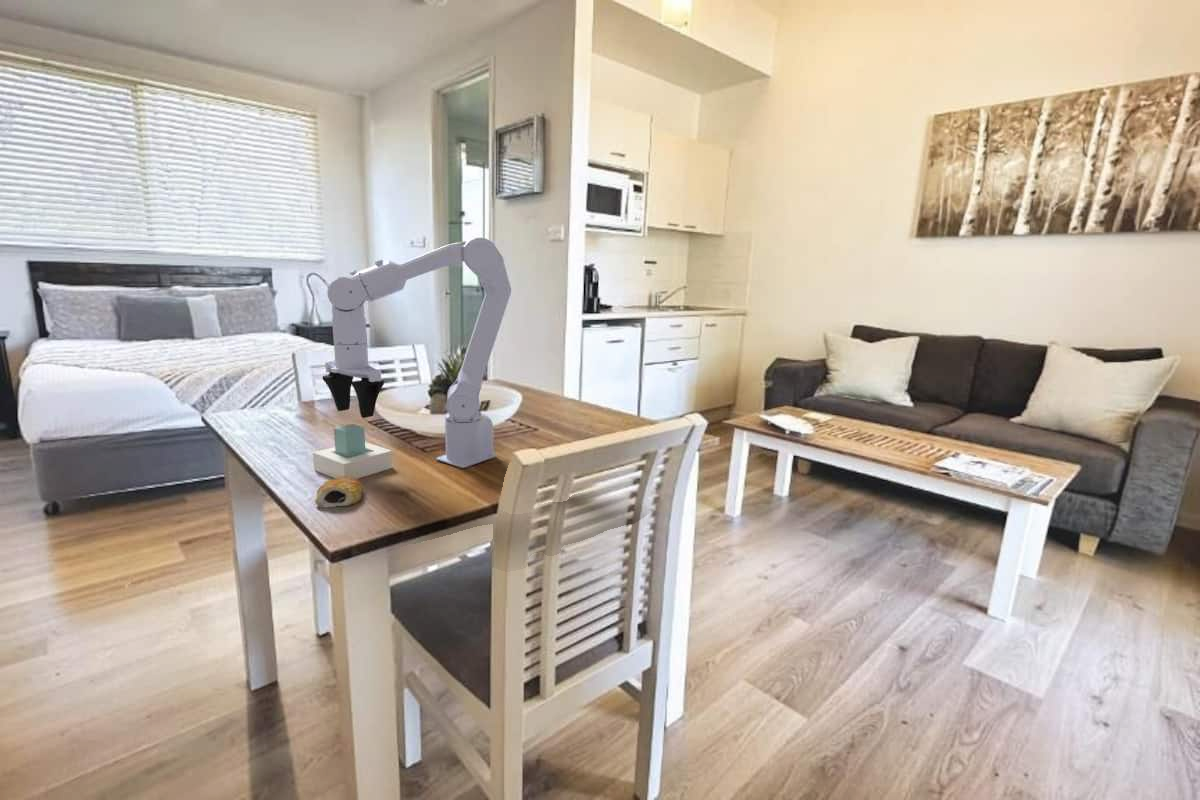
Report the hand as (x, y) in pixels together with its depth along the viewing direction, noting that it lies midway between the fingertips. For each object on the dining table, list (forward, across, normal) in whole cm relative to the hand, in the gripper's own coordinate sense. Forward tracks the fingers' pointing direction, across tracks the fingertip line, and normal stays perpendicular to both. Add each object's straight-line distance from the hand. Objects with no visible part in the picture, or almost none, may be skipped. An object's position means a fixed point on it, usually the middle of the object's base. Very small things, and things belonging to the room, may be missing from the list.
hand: (355, 413), depth 109 cm
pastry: (+11, +12, -12) cm, 20 cm away
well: (+10, +2, -2) cm, 11 cm away
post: (+10, +2, -2) cm, 11 cm away
